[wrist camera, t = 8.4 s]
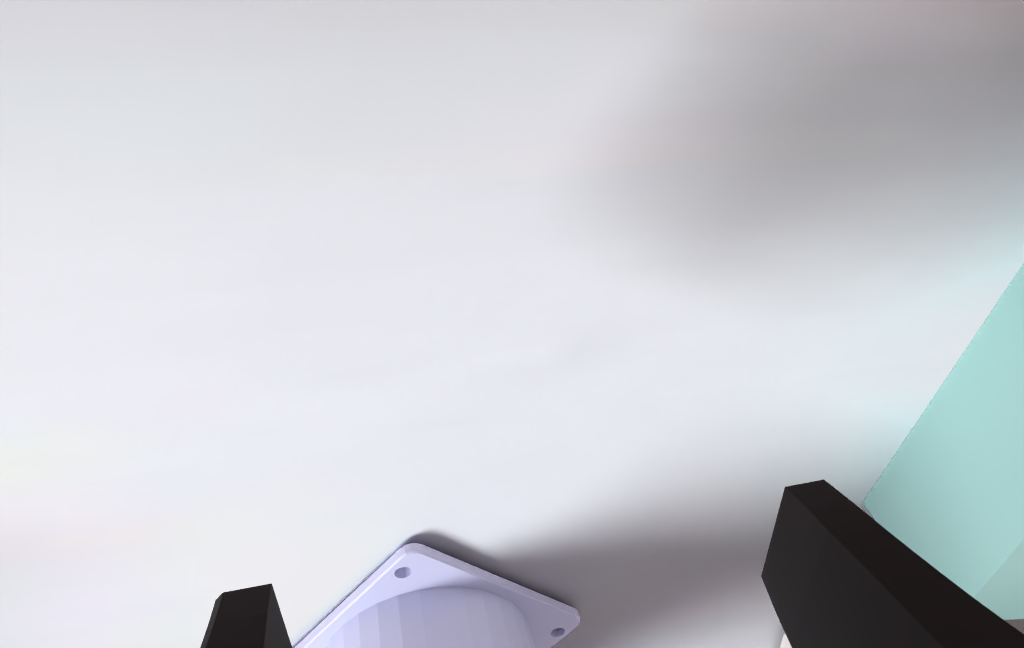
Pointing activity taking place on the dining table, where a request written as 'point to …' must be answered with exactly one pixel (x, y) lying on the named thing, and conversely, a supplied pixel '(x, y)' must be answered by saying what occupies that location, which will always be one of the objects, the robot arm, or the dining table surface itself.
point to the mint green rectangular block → (968, 468)
